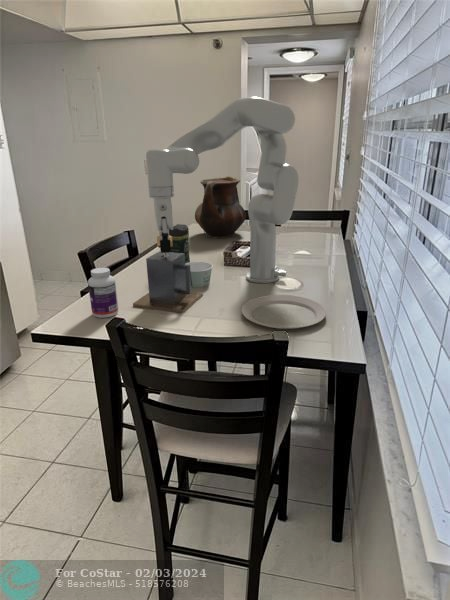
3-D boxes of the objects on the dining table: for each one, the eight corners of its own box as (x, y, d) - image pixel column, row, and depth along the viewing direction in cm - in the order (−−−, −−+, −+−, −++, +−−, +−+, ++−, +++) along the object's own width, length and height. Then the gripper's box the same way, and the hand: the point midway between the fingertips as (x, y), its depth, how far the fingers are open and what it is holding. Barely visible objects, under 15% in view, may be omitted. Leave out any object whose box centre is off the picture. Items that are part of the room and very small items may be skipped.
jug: (201, 228, 249) (199, 175, 238) (248, 228, 246) (248, 175, 235) (189, 241, 220) (186, 181, 209) (242, 242, 216) (242, 181, 205)
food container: (206, 289, 152) (205, 272, 150) (176, 286, 156) (175, 269, 154) (218, 279, 163) (217, 263, 160) (189, 276, 167) (188, 260, 164)
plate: (314, 299, 143) (315, 293, 142) (335, 332, 119) (336, 326, 118) (238, 301, 142) (238, 295, 141) (244, 335, 118) (244, 329, 117)
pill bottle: (95, 309, 136) (89, 266, 131) (120, 308, 137) (115, 265, 132) (90, 319, 129) (83, 274, 124) (116, 318, 130) (111, 273, 124)
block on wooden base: (202, 295, 147) (201, 251, 141) (183, 313, 133) (180, 265, 127) (156, 290, 152) (152, 247, 147) (133, 306, 138) (128, 260, 133)
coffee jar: (183, 274, 169) (181, 228, 162) (165, 272, 171) (162, 227, 164) (193, 267, 177) (191, 223, 170) (175, 266, 179) (173, 222, 173)
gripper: (175, 195, 122) (179, 256, 129) (171, 188, 138) (175, 243, 144) (149, 196, 121) (154, 258, 128) (148, 189, 136) (152, 244, 143)
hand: (165, 249), depth 136 cm, fingers closed on plunger, 4 cm apart
